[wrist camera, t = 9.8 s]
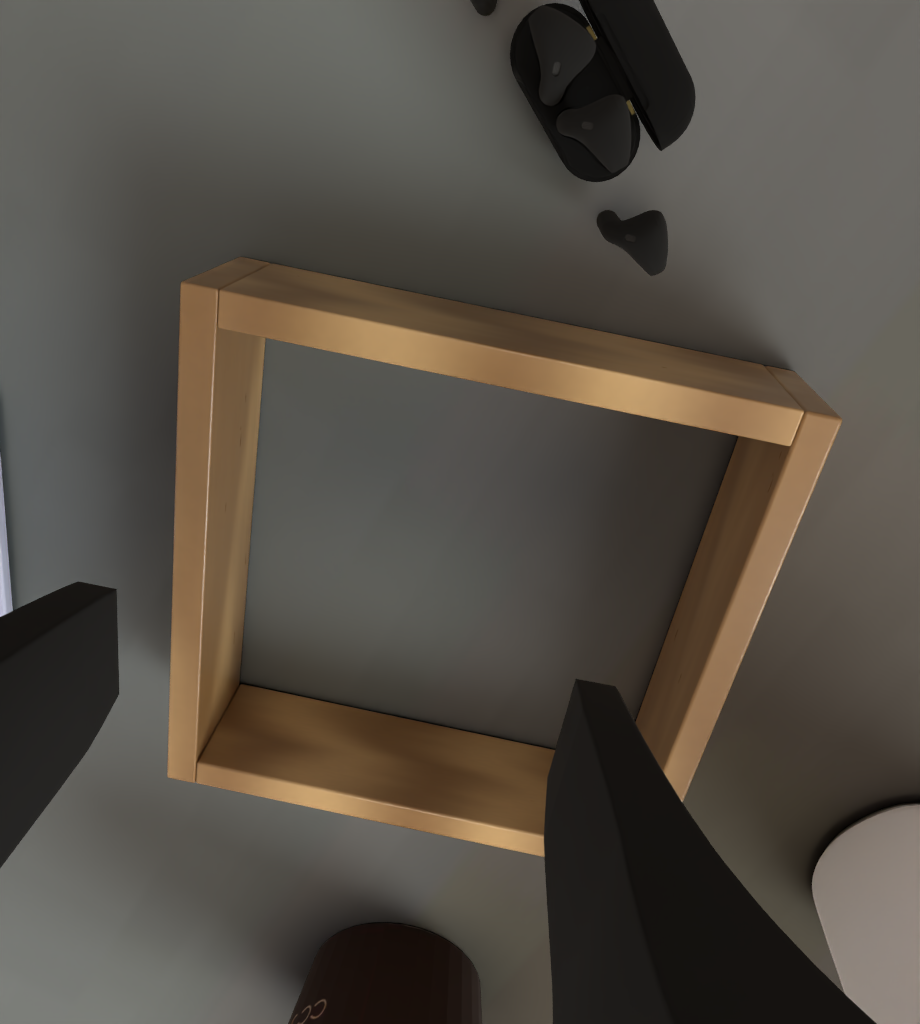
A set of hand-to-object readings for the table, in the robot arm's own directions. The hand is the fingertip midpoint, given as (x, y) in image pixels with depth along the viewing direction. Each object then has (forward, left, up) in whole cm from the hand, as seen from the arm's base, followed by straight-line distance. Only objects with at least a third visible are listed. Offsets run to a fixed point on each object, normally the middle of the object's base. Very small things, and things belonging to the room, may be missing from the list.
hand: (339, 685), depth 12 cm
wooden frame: (+2, -3, -10) cm, 10 cm away
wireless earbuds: (+2, +9, -10) cm, 14 cm away
